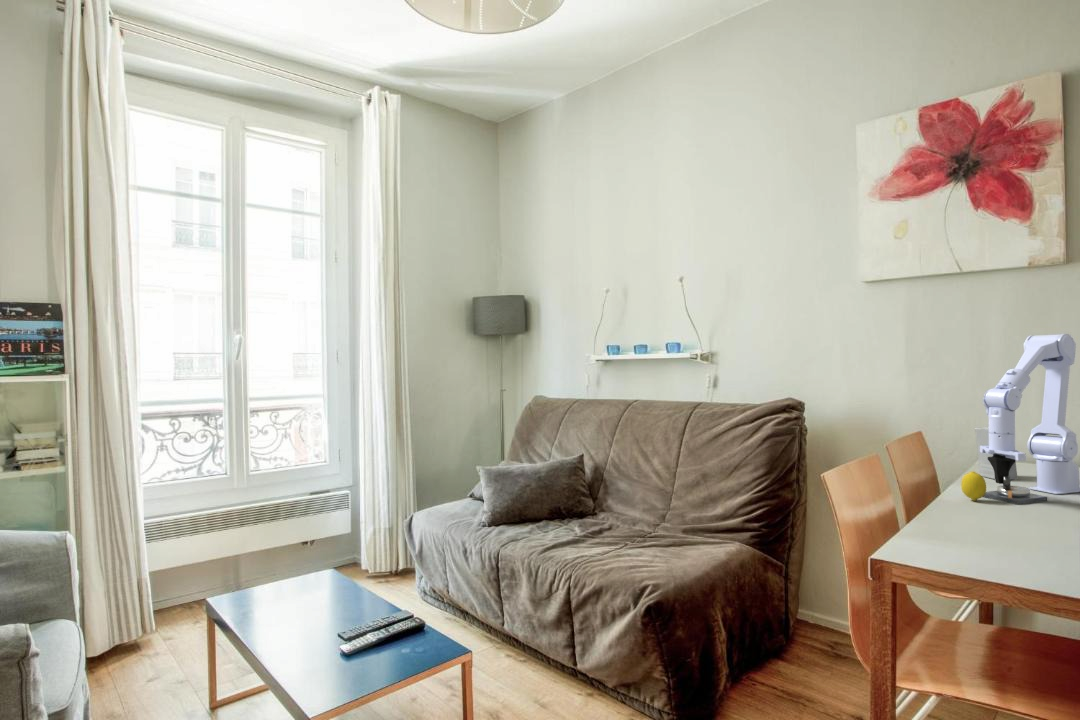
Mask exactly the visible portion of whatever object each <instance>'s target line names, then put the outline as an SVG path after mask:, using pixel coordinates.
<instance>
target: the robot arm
mask: <svg viewBox="0 0 1080 720" xmlns="http://www.w3.org/2000/svg"><path fill="white" fill-rule="evenodd" d="M1076 348H1077V343H1076V342H1075V340H1074V338H1073V336H1071V334H1069V333H1061V334H1045V335H1044V334H1041V335H1040V334H1039V335H1034V334H1031V335H1028V336H1027V337H1026V339H1025V340H1024V342H1023V353H1022V355H1021V357H1020V359H1019V361H1018V362H1017V363H1016V366H1015V367H1014V368H1011V369H1008V370H1007V371H1006V372H1005V373H1004V374H1003V376H1002V377H1001V379H999V381H998V382H997V384H996V385H995V386H994V387H993V388H989V390H987V391H985V393H984V395H983V398H982V403H983V405H984V407H985V414H986V415H987V416H988V427H989V446H980V452H981V453H988V454H992V455H993V456H992V457H988V460H989V462H990V463H991V465H992V467H993V469H994V474H995V479H994V481H995V483H996V484H999V485H1003V476H1009V471H1010V469H1011V467H1012V465H1013V464H1014V463H1015V462H1016V461H1018V462H1023V461H1024V462H1025V461H1027V455H1026V453H1024V452H1021V451H1019V450H1017V449H1016V410H1018V408H1020V406H1021V400H1022V397H1023V394H1022V393H1023V392H1024V390H1026V388H1027V387H1028V386H1029V384H1030V382H1031V377H1030V375H1031V374H1032V372H1033V371H1034V370H1035V369H1036V368H1037V367H1038V366H1039V365H1040V366H1042V367H1044V369H1045V377H1044V379H1045V380H1044V388H1043V389H1044V390H1043V391H1044V392H1043V400H1042V412H1041V423H1039V424H1037V426H1034V427H1033V428H1032V429H1031V430H1030V436H1029V438H1028V440H1027V442H1026V445H1027V451H1028V452H1029V454H1030V455H1031V456H1032V457H1033V459H1035V462H1036V463H1035V466H1036V467H1035V468H1036V486H1030V487H1028V488H1029V489H1030V490H1033V491H1038V492H1042V493H1043V492H1044V493H1048V494H1049V493H1050V494H1054V495H1063V494H1064V495H1065V494H1073V493H1074V494H1075V493H1080V469H1079V465H1078V464H1077V463H1076V462H1075V461H1074V460H1073V459H1074V458H1075V457H1076V456H1077V455H1078V451H1079V447H1078V443H1077V434H1076V433H1075V432H1074V431H1073V430H1071V429H1070V428H1069V427H1068V426H1066V415H1067V405H1068V393H1069V384H1070V373H1071V372H1070V371H1071V366H1072V365H1074V364H1075V360H1076V359H1075V358H1076ZM1003 454H1004V455H1003ZM1016 463H1017V462H1016Z"/></svg>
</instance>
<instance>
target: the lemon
mask: <svg viewBox="0 0 1080 720" xmlns="http://www.w3.org/2000/svg"><path fill="white" fill-rule="evenodd" d="M984 478H985V477H983V476H981V475H980V473H977V472H976V471H975V470H973V471H970V472H967V473H966V474H964V475H963V476H962V478H961V482H960V487H961V491H962V493H963V494H964V495H965V496H966V498H969V499H970V500H971V501H973V502H976V501H977V500H979V499H982V498H984V497H983V496H984V495H985V493H986V492H987V482H986V480H985V479H984Z"/></svg>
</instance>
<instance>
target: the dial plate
mask: <svg viewBox="0 0 1080 720" xmlns="http://www.w3.org/2000/svg"><path fill="white" fill-rule="evenodd" d="M982 498H986V499H992V500H995V501H999V502H1005V503H1008V504H1009V503H1010V504H1013V505H1017V506H1018V505H1025V504H1026V505H1027V504H1035V503H1043V502H1048V496H1047V495H1041V494H1037V493H1036V494H1035V493H1031V492H1030V496H1025V497H1017V496H1012V491H1011V490H1008V496H1007V495H1002V494H999V493H997V490H991V491H986V493H985V495H984V496H983V497H982Z"/></svg>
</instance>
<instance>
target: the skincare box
mask: <svg viewBox="0 0 1080 720" xmlns="http://www.w3.org/2000/svg"><path fill="white" fill-rule="evenodd" d="M974 431H975V433H974V434H975V439H976V440H975V442H976V450H977V460H978V470H979V475H981V476H982V477H983V478H989V479H992V480H995V474H994V469H993V467H992V465H991V463H990V462H989V460H988V457H992V456H993V455H992V454H988V453H981V452H980V446H989V426H985V427H975V428H974ZM1003 455H1004V454H1003ZM1009 476H1010V480H1018V470H1017V462H1015V463H1014V464H1013V465H1012V467H1011V469H1010V471H1009Z"/></svg>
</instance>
